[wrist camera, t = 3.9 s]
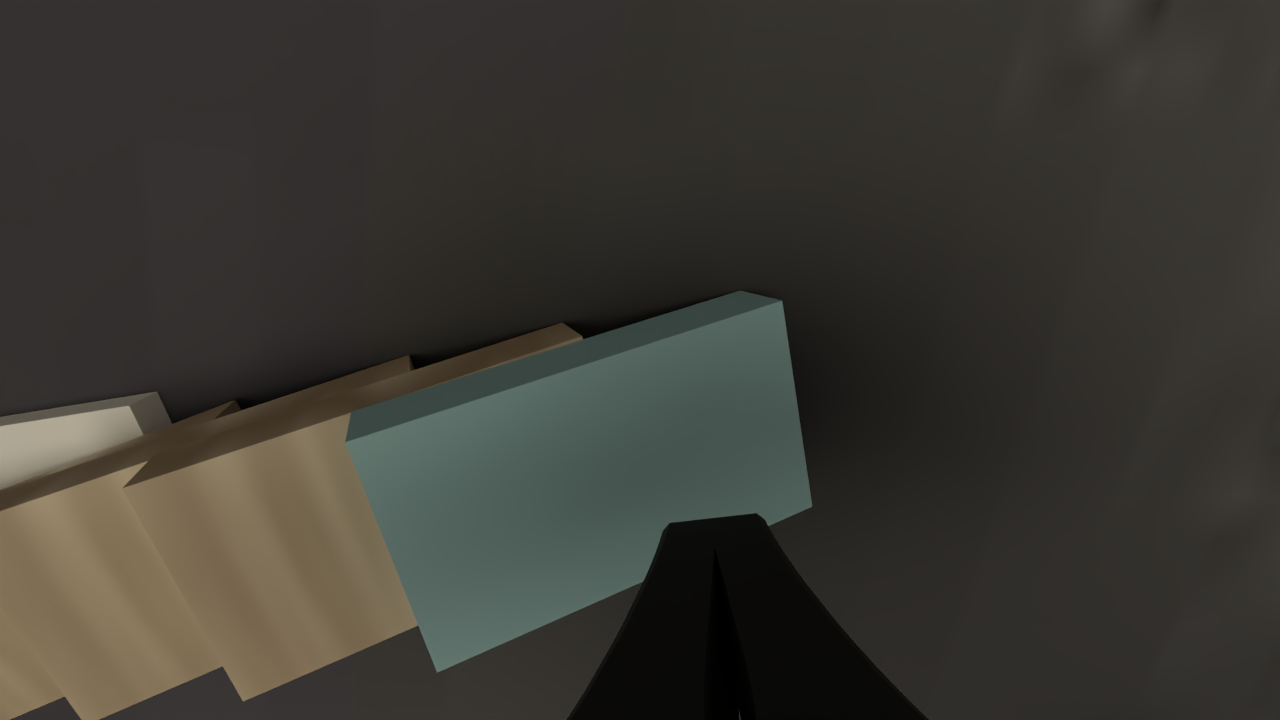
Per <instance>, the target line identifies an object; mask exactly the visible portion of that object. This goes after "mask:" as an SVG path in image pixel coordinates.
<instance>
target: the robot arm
mask: <svg viewBox="0 0 1280 720" xmlns="http://www.w3.org/2000/svg"><path fill="white" fill-rule="evenodd" d="M739 712H740V716H741V720H929V719H928V718H927V717H925V716H924V715H923V714H922V713H921V712H920V711H919V710H918V709H917V708H916V707H915V706H914V705H913V704H912V703H911V702H910V701H909V700H908V699H907V698H906V697H905V696H904V695H903V694H902V693H901V692H900V691H899V690H898V689H897V688H896V687H895V686H894V685H893V684H892V683H891V682H890V680H889V679H888V678H887V677H886V676H885V675H884V674H883V673H882V672H881V671H880V670H879V669H878V668H877V667H876V666H875V665H874V663H873V662H872V661H871V660H870V659H869V658H868V657H867V656H866V655H865V654H864V652H863V651H862V650H861V649H860V648H859V647H858V646H857V645H856V644H855V643H854V642H853V640H852V639H851V638H850V637H849V636H848V635H847V633H846V632H845V631H844V630H843V629H842V628H841V626H840V625H839V624H838V623H837V622H836V621H835V619H834V618H833V617H832V616H831V614H830V613H829V612H828V611H827V609H826V608H825V607H824V606H823V604H822V603H821V602H820V601H819V599H818V598H817V597H816V596H815V594H814V593H813V592H812V591H811V589H810V588H809V587H808V586H807V584H806V583H805V582H804V580H803V579H802V578H801V576H800V575H799V573H798V572H797V571H796V569H795V568H794V566H793V565H792V564H791V562H790V561H789V559H788V558H787V556H786V555H785V553H784V552H783V550H782V549H781V547H780V546H779V544H778V542H777V541H776V539H775V538H774V536H773V534H772V532H771V530H770V529H769V527H768V525H767V523H766V520H765V519H764V518H762V517H761V516H760V515H758V514H757V513H753V514H744V515H735V516H726V517H717V518H708V519H700V520H691V521H682V522H673V523H669V524H668V525H667V526H666V528H665V529H664V530H663V532H662V535H661V538H660V541H659V544H658V547H657V550H656V553H655V555H654V558H653V560H652V563H651V565H650V568H649V570H648V572H647V574H646V577H645V579H644V581H643V584H642V586H641V588H640V590H639V592H638V594H637V596H636V598H635V600H634V602H633V604H632V606H631V608H630V610H629V612H628V615H627V617H626V619H625V621H624V623H623V625H622V627H621V629H620V631H619V632H618V634H617V636H616V638H615V640H614V642H613V644H612V645H611V647H610V649H609V650H608V652H607V654H606V656H605V657H604V659H603V661H602V663H601V664H600V666H599V668H598V669H597V671H596V673H595V675H594V676H593V678H592V680H591V682H590V683H589V685H588V687H587V689H586V690H585V692H584V693H583V695H582V697H581V698H580V700H579V701H578V703H577V705H576V706H575V708H574V709H573V711H572V712H571V714H570V716H569V717H568V719H567V720H739Z"/></svg>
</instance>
